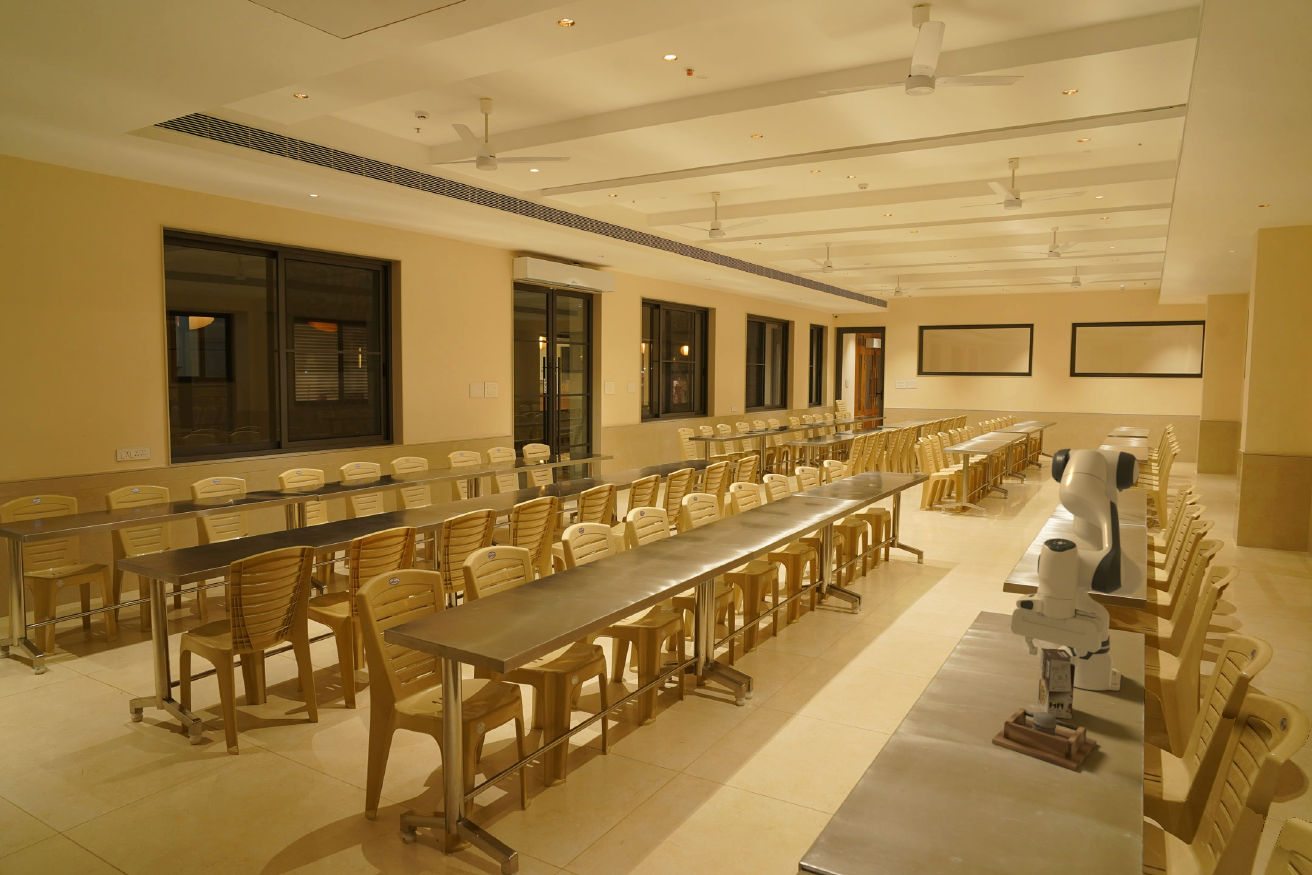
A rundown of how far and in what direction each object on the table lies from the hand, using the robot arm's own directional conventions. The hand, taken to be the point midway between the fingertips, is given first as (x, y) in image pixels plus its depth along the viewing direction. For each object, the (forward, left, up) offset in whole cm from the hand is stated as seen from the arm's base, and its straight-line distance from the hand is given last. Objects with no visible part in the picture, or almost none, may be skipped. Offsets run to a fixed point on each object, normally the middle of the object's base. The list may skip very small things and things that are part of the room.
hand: (1053, 659), depth 191 cm
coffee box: (-20, -4, -22) cm, 30 cm away
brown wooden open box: (+2, 0, -22) cm, 22 cm away
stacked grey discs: (+2, -1, -21) cm, 21 cm away
